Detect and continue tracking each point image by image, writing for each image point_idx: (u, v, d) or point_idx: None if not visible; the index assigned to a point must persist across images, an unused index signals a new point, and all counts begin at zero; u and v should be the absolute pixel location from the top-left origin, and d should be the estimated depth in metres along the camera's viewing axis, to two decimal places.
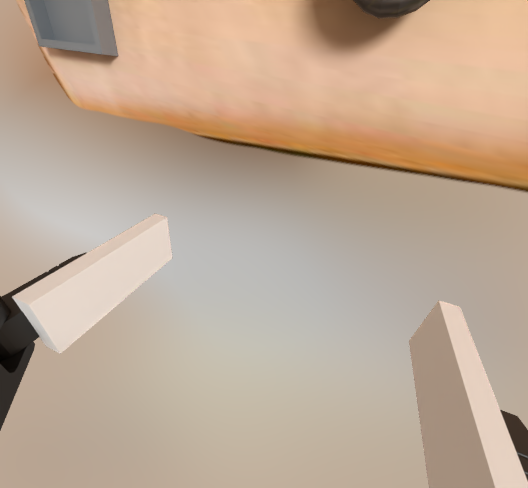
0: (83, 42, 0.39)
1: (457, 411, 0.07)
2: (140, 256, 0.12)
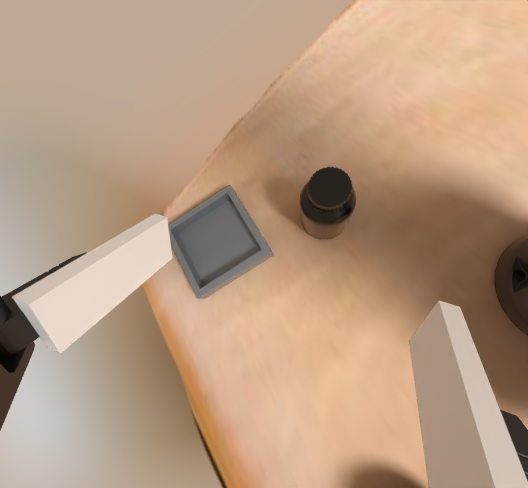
0: (193, 262, 0.40)
1: (457, 411, 0.07)
2: (140, 256, 0.12)
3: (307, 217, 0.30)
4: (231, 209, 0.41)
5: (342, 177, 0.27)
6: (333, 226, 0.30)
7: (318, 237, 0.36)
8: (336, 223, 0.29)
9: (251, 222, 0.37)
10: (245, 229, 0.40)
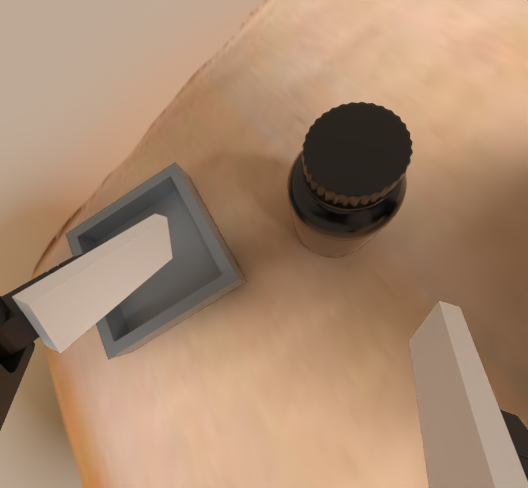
0: None
1: (457, 411, 0.07)
2: (140, 256, 0.12)
3: (302, 220, 0.15)
4: (181, 203, 0.25)
5: (387, 125, 0.11)
6: (356, 239, 0.14)
7: (322, 254, 0.21)
8: (364, 234, 0.14)
9: (207, 226, 0.22)
10: (201, 237, 0.24)
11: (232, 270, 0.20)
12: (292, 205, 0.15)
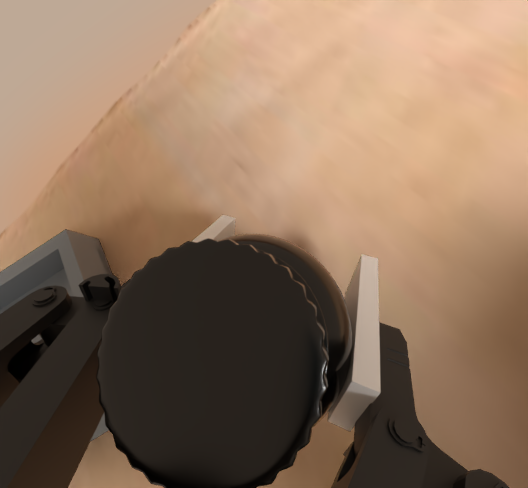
0: None
1: (352, 324, 0.09)
2: None
3: None
4: None
5: (274, 306, 0.05)
6: None
7: None
8: None
9: None
10: None
11: None
12: None
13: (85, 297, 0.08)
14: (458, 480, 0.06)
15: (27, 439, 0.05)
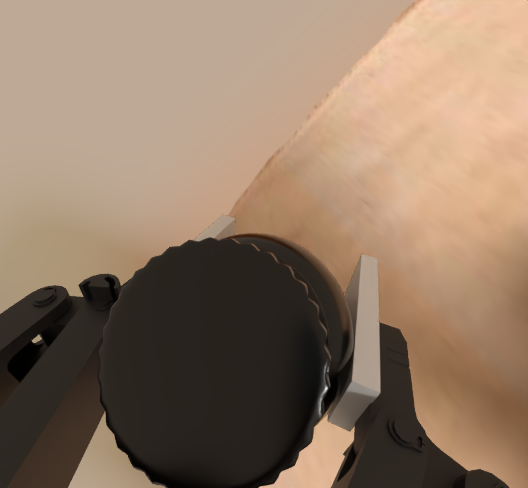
0: None
1: (352, 324, 0.09)
2: None
3: None
4: None
5: (276, 305, 0.05)
6: None
7: None
8: None
9: None
10: None
11: None
12: None
13: (85, 297, 0.08)
14: (458, 481, 0.06)
15: (27, 439, 0.05)
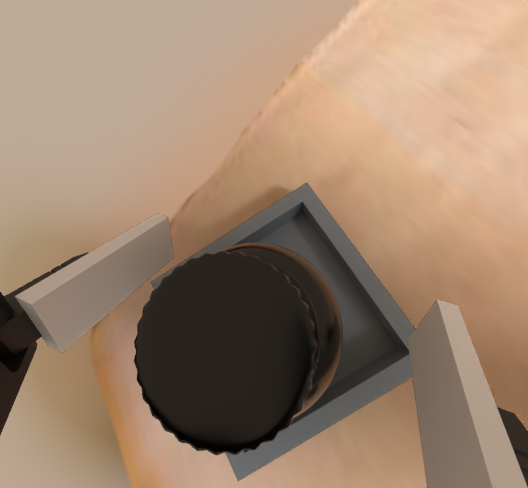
0: None
1: (454, 409, 0.07)
2: (142, 256, 0.12)
3: None
4: (305, 236, 0.18)
5: (275, 305, 0.06)
6: None
7: None
8: None
9: (372, 276, 0.15)
10: (342, 286, 0.17)
11: None
12: None
13: None
14: None
15: None
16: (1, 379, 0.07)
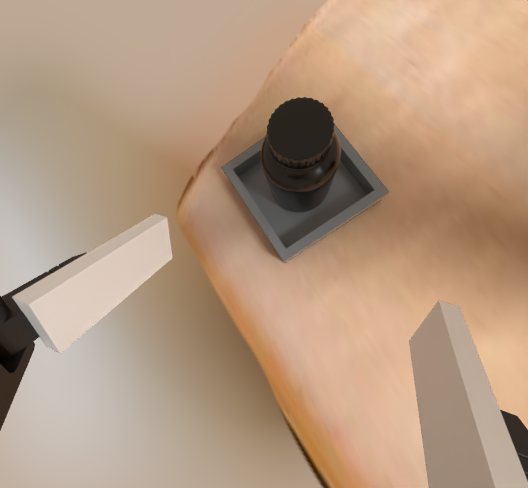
0: (265, 215, 0.29)
1: (457, 411, 0.07)
2: (140, 256, 0.12)
3: (271, 180, 0.21)
4: None
5: (319, 113, 0.17)
6: (308, 192, 0.21)
7: (291, 209, 0.27)
8: (312, 187, 0.20)
9: (354, 152, 0.26)
10: None
11: (382, 185, 0.26)
12: (264, 169, 0.21)
13: None
14: None
15: None
16: None
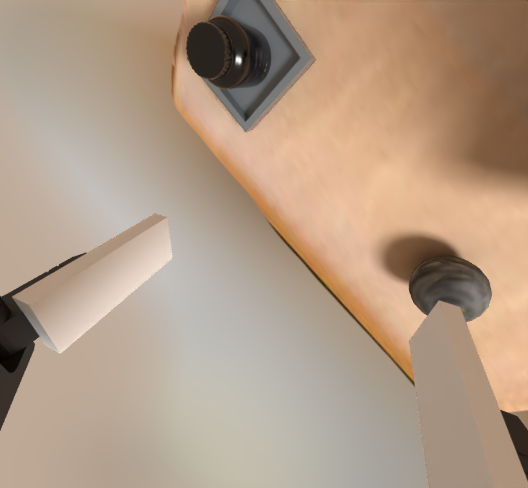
0: (231, 93, 0.38)
1: (457, 411, 0.07)
2: (140, 256, 0.12)
3: (210, 82, 0.31)
4: (254, 2, 0.32)
5: (214, 36, 0.25)
6: (236, 86, 0.30)
7: None
8: (235, 84, 0.30)
9: (282, 19, 0.30)
10: (277, 31, 0.32)
11: (306, 52, 0.31)
12: None
13: None
14: None
15: None
16: None
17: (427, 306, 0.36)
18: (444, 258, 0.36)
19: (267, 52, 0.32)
